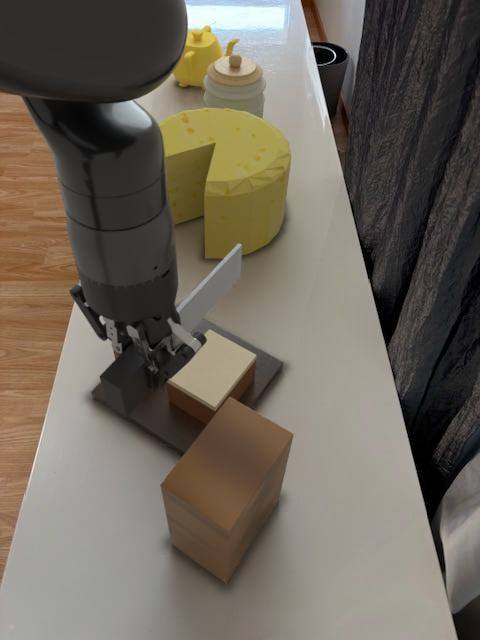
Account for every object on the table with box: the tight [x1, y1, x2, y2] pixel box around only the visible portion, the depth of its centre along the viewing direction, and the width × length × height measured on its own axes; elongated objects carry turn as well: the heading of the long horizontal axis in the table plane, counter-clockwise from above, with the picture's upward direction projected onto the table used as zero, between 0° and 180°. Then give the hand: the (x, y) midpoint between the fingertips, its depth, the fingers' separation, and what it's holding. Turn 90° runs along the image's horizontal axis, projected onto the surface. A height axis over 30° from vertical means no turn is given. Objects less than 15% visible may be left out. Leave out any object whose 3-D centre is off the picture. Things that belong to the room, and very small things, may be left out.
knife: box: [99, 243, 243, 417], centre depth 57 cm, size 22×2×5 cm, turn 148°
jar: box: [203, 52, 267, 118], centre depth 117 cm, size 13×13×18 cm
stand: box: [159, 397, 295, 584], centre depth 62 cm, size 12×8×18 cm, turn 147°
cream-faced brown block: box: [166, 329, 257, 425], centre depth 77 cm, size 10×8×6 cm
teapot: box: [172, 24, 241, 91], centre depth 133 cm, size 14×14×12 cm
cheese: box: [157, 107, 292, 260], centre depth 101 cm, size 26×26×15 cm
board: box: [90, 304, 284, 457], centre depth 82 cm, size 20×20×2 cm
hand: (146, 376), depth 55 cm, fingers closed on knife, 2 cm apart
